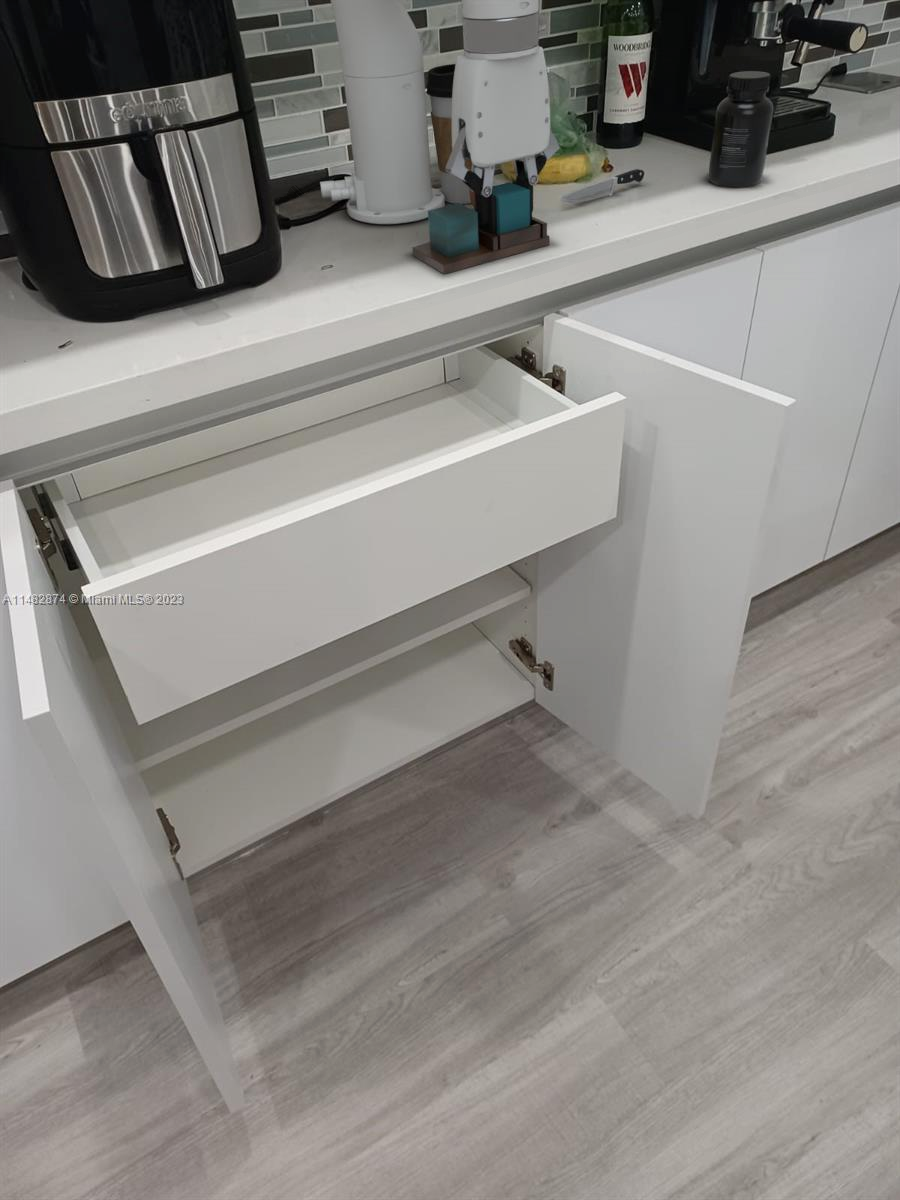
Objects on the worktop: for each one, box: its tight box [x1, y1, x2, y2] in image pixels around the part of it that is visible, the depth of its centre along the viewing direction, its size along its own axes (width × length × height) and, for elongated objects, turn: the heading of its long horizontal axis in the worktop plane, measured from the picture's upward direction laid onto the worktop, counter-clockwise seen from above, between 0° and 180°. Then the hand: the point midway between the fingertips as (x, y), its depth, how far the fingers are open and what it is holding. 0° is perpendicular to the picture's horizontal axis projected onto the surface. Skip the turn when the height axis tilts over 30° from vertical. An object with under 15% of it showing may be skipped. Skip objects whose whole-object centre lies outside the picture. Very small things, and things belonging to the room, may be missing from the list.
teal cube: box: [492, 181, 530, 234], centre depth 97 cm, size 4×4×4 cm
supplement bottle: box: [707, 70, 774, 188], centre depth 109 cm, size 7×7×12 cm
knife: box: [559, 168, 645, 203], centre depth 110 cm, size 15×1×2 cm, turn 128°
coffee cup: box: [425, 63, 472, 205], centre depth 109 cm, size 8×8×15 cm
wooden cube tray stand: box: [411, 203, 551, 275], centre depth 98 cm, size 14×7×5 cm, turn 120°
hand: (504, 224), depth 99 cm, fingers closed on teal cube, 4 cm apart
